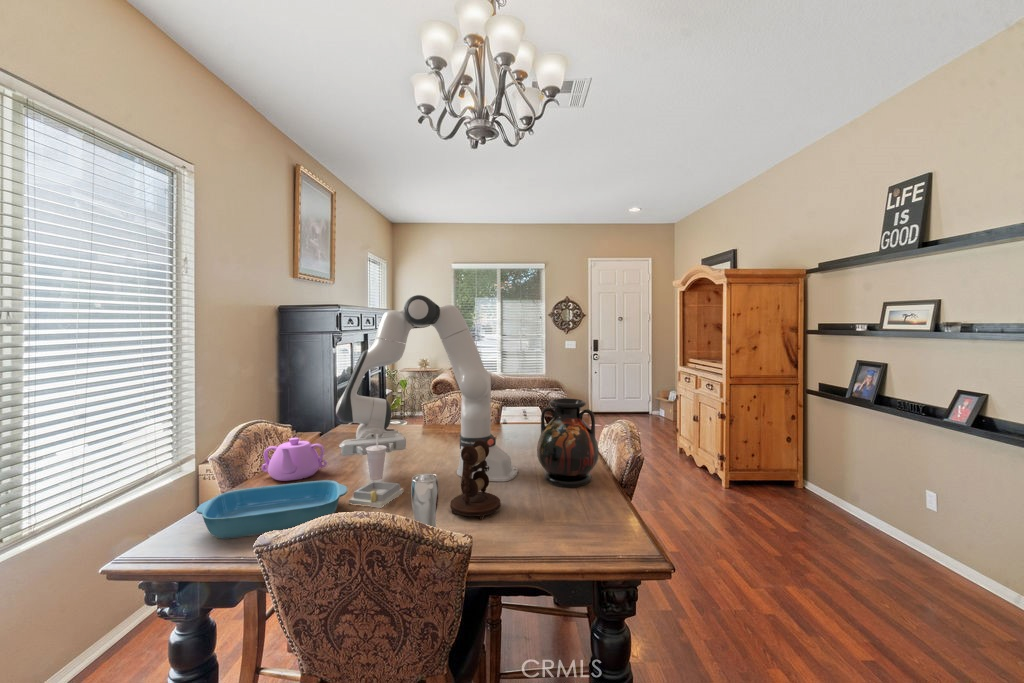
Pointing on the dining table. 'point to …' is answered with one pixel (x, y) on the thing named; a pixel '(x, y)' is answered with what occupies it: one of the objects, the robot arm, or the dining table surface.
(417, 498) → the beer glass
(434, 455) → the dining table surface
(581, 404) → the amphora vase
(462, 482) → the brown spool stand
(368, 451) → the smoothie
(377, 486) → the collar plate
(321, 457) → the teapot
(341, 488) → the casserole dish
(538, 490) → the dining table surface
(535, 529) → the dining table surface
